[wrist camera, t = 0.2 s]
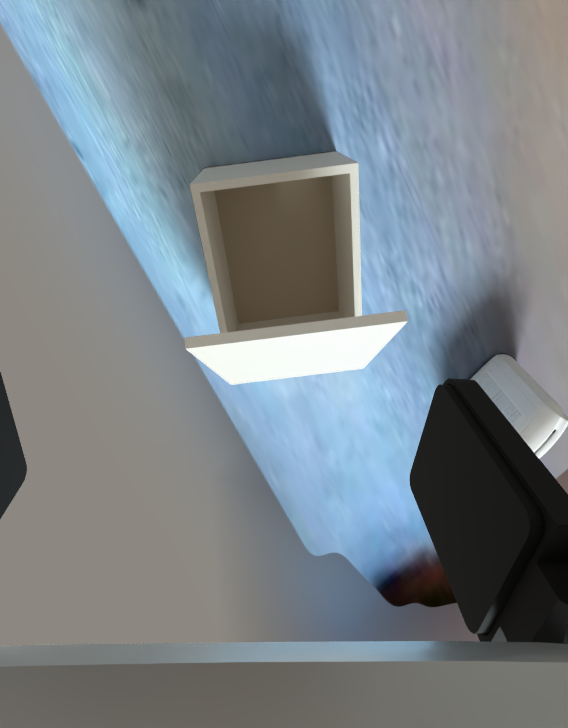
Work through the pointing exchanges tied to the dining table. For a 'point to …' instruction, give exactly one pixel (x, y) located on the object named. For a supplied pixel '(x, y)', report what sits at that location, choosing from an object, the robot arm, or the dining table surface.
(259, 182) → the carton
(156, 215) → the dining table surface
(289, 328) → the carton lid
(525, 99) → the dining table surface
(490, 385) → the photo printer
